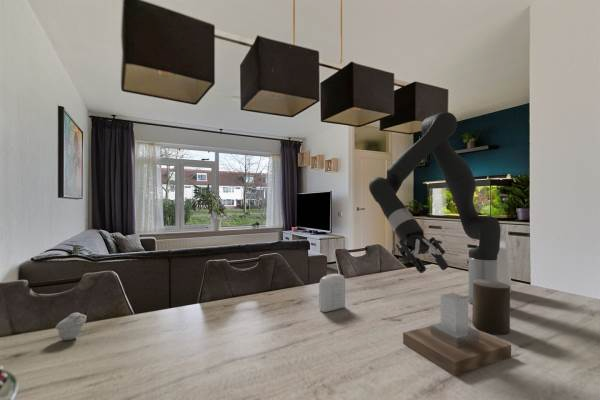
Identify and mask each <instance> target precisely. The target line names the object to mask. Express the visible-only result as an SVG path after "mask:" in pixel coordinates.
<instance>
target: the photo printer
mask: <svg viewBox="0 0 600 400" xmlns="http://www.w3.org/2000/svg"><path fill="white" fill-rule="evenodd" d="M318 288H319V289H318V290H319V292H318V293H319V294H318V295H319V297H318V299H319V300H318V304H319V305H318V308H319V311H320V312H322V313H327V312H331V311H335V310H339V309H343V308H345V307H346V277H345V276H344V275H342V274H339V273H331V274H330V273H329V274H327V275H324V276H322V278H320V280H319V286H318Z"/></svg>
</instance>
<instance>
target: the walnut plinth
mask: <svg viewBox="0 0 600 400" xmlns="http://www.w3.org/2000/svg"><path fill="white" fill-rule="evenodd" d="M468 328H471V329H473V330H475V331H478V332H479V342H477V343H474V344H470V345H467V346H463V347H460V348H456V347H454V346H452V345H450V344H448V343H446V342H444V341H442V340H440V339H439V338H437V337H435V336H433V335H431V325H430V326H429V325H428V326H426V327H421V328H417V329H411V330H408V331H404V332H403V333H402V343H403V345H405V346H406V347H409V348H410V349H411V350H413V351H415V352H416V353H418V354H419V355H421V356H422V357H424V358H426V359H427V360H429V361H431V362H433V363H434V364H435V365H437V366H439V367H440V368H442V369H444V371H447V372H448V373H450V374H451V375H453V376H458V375H463V374H464V373H467V372H470V371H473V370H476V369H479V368H483V367H485V366H487V365H491V364H493V363H496V362H500V361H503V360H506V359H509V358H511V357H512V344H510V343H508V342H505V341H503V340H501V339H498V338H496V337H494V336H491V335H489V334H488V333H486V332H484V331H481V330H479V329H477V328H476V329H475V328H473V327H470V326H469V325H468Z"/></svg>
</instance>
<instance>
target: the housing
mask: <svg viewBox="0 0 600 400" xmlns="http://www.w3.org/2000/svg"><path fill="white" fill-rule="evenodd" d="M430 326H431V335H433V336H435V337H437V338H439V339H440V340H442V341H444V342H446V343H448V344H450V345H452V346H454V347H456V348H460V347H463V346H467V345H470V344H474V343H477V342H479V332H478V331H479V330H478V331H475V330H473V329H474V328H473V329H471V328H472V327H471V328H468V326H469V296H468V297H467V296H465V295H462V294H458V293H455V292H450V293H444V294H443V293H442V294H440V322H438V323H434V324H430Z"/></svg>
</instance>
